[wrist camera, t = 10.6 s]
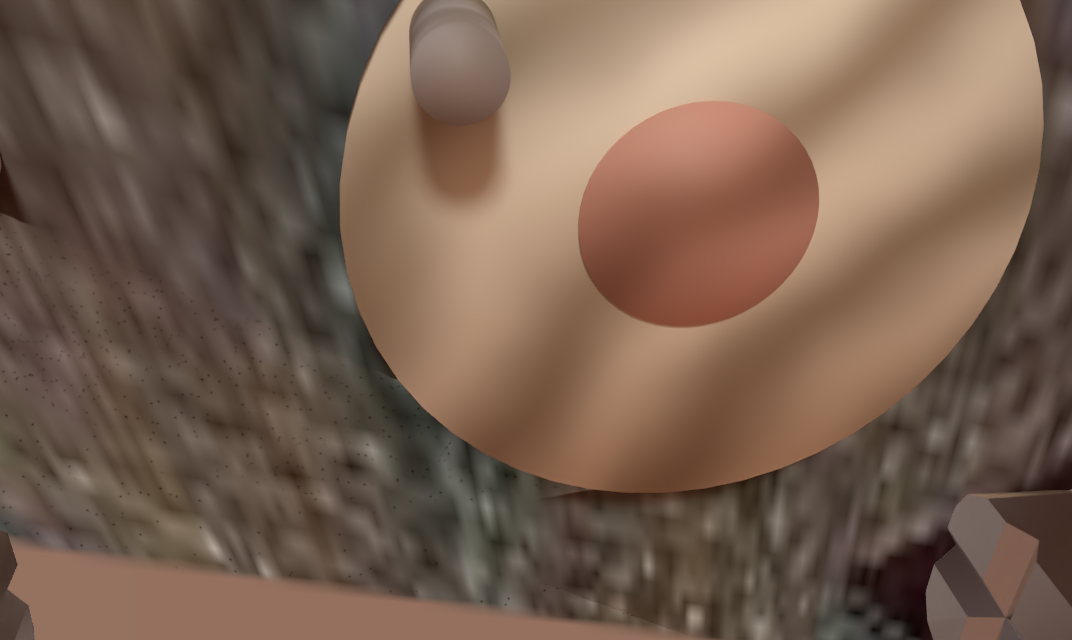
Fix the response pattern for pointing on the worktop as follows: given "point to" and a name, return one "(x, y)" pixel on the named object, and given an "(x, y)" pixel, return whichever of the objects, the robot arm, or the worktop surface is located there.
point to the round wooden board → (682, 219)
